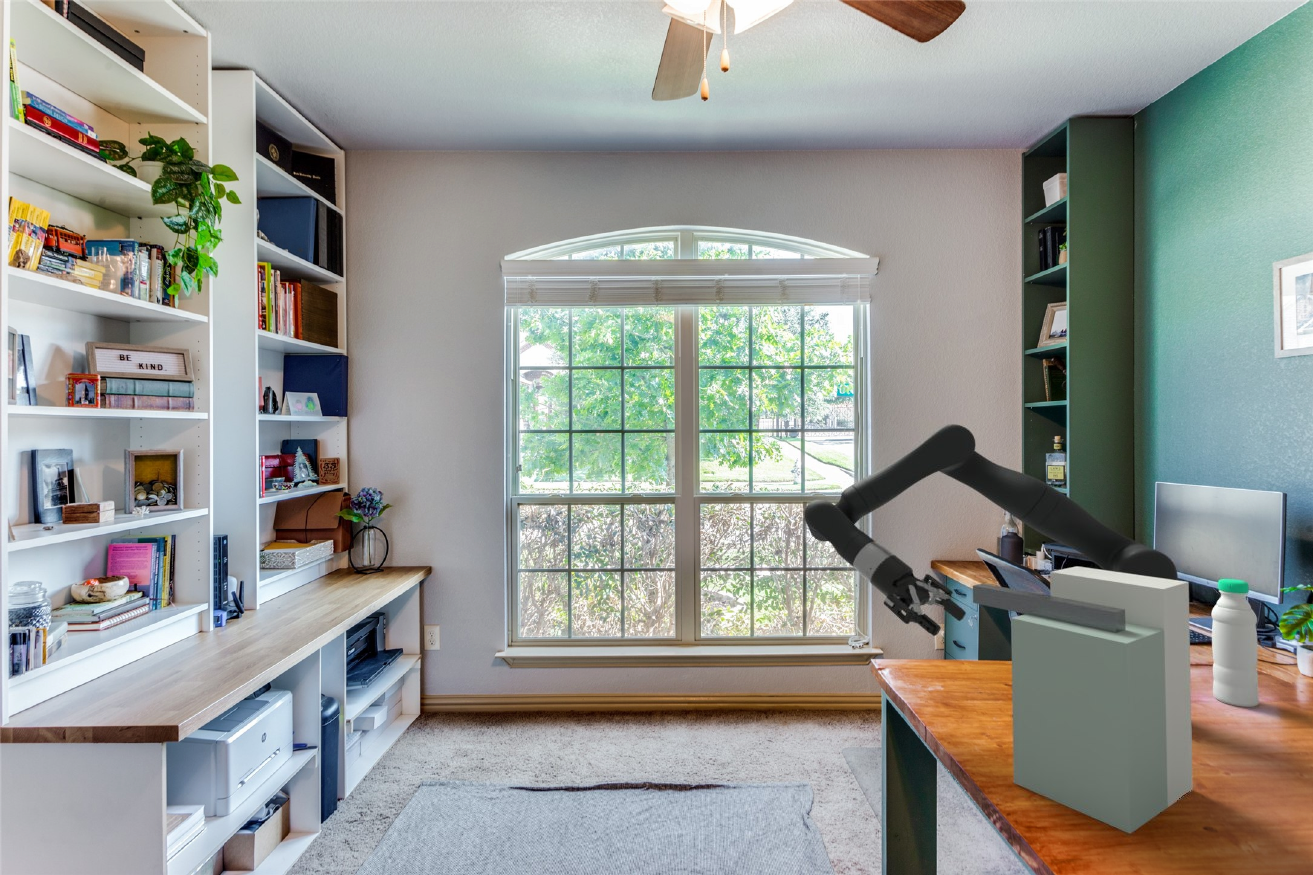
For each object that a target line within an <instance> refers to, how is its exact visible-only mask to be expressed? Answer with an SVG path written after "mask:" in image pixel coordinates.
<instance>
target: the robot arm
mask: <svg viewBox="0 0 1313 875" xmlns="http://www.w3.org/2000/svg"><path fill="white" fill-rule="evenodd" d="M937 472H939V473H942V474H944V475H945V476H948V477H949V478H952V479H954V480H955V481H958V482H960V483H962V484H964V485H966V486H967V487H969V488H970V489H973V490H974V491H976V492H978V493H979V494H981V495H982V496H983V497H984V498H986V499H988V500H989V501H990V502H992V503H993V504H995V506H996V505H997V506H998V507H999V508H1001V509H1003V510H1004V511H1005V512H1007V513H1008V514H1011V515H1012V516H1013V517H1014V518H1016V519H1017V520H1019V521H1020V522H1022V523H1024V524H1025V525H1027V526H1028V527H1030V528H1032V529H1033V530H1035V531H1036V532H1038V533H1040V534H1041V535H1043V536H1045V537H1047V538H1050V539H1051V540H1053V541H1055V542H1057V543H1059V544H1062V545H1063V546H1065V547H1069V548H1070V549H1073V550H1075V551H1077V552H1078V553H1080V554H1081V555H1083V556H1084V557H1086V558H1087V559H1089V560H1091V561H1092V562H1093V563H1094V564H1096V565H1097V566H1099V567H1100V568H1101V570H1107V571H1114V572H1121V573H1128V574H1135V575H1142V576H1149V577H1156V578H1163V579H1170V580H1178V581H1179V578H1178V576H1179V575H1178V571H1177V568H1176V565H1175V563H1174V562H1173V560H1172V559H1171V558H1170V557H1169V556H1168V555H1166V554H1165V553H1164V552H1161V551H1160V550H1157V549H1155V548H1153V547H1150V546H1149V545H1146V544H1145V545H1144V544H1143V543H1140V542H1138V541H1135V540H1133V539H1132V538H1129V537H1127V536H1125V535H1123V534H1121V533H1120V532H1118V531H1115V530H1114V529H1111V528H1110V527H1108V526H1106V525H1104V523H1102V522H1100V521H1099V520H1098V519H1096V518H1095V517H1094V516H1093V515H1092V514H1090V513H1089V512H1088V511H1087V510H1086V509H1085V508H1083V507H1082V506H1081V505H1079V504H1078V503H1077V502H1075V501H1074V500H1073V499H1072V498H1070V497H1069V496H1067V495H1065V494H1064V493H1062V492H1061V491H1059V490H1058V489H1056V488H1055V487H1053V486H1051V485H1049V484H1047V483H1046V482H1044V481H1042V480H1040V479H1038V478H1036V477H1034V476H1031V475H1029V474H1027V473H1026V474H1025V473H1023V472H1020V471H1017V470H1015V469H1011V468H1007V467H1004V466H1002V465H1000V464H997V463H995V462H993V461H991V460H989V459H988V458H986V457H985V456H983V455H982V454H981V453H979V452H977V451H976V439H975V436H974V434H973V433H972V432H971V430H969V429H968V428H966V427H965V426H964V425H960V424H952V423H950V424H945V425H942V426H940V427H938V428H936V429H935V430H934V431H933V432H932V433H931V434H930V435H929V436H928V437H927V438H926V439H924V440H923V441H922V442H921V443H920V444H919V445H917V446H916V447H915V448H913V449H912V450H910V451H908V452H907V453H906V454H904V455H902V456H901V457H900V458H898V459H896V460H895V461H893V462H891V463H890V464H887V465H886V466H884V467H882V468H881V469H879V470H876V471H874V472H872V473H871V474H869V475H867V476H866V477H863V478H862V479H860V480H858V481H857V482H855V483H853V484H851V485H850V486H848V487H847V488H845V489H844V490H843V491H842V492H841V495H840V499H839V500H838V501H837V502H836V503H835V504H833V503H832V502H831V501H829V500H826V499H815V500H812V501H810V502H809V503H808V504H807V505H806V507H805V510H804V513H803V515H804V521H805V523H806V526H807V528H808V530H809V532H810V534H811V536H812V537H813V538H814V539H815V540H817V541H819V542H826V543H827V542H829V543H830V544H831V545H832V547H833V549H834V550H835V551H836V553H837V554H838V555H839V556H840V557H841V558H842V559H843V560H844V561H845V562H847V563H848V564H849V565H850V566H851V567H853V568H854V570H856V571H857V572H858V573H859V575H860V576H861V577H863V578H864V579H865V580H866V581H867V582H869V583H870V584H871V585H872V586H873V587H875V588H876V589H877V590H878V591H879V592H880V593H882V594H883V595H884V596H885V599H884V600H883V605H884V606H885V607H886V608H888V610H890V611H891V612H892V613H893V614H894V616H896V617H897V618H898V619H899V620H900V621H902V622H903V623H904V624H905V625H909V624H910V623H913V624H918V625H919V626H920V627H921V628H922V629H924V630H925V631H926V632H927V633H928V634H931V636H933V637H934V636H937V635H938V634H939V633H940V631H941V630H942V629H941V628H942V627H941V625H939V623H937V622H936V621H934V619H932V618H931V617H929V615H928V614H926V613H923V611H922V608H921V606H925V605H928V606H933V605H935V606H938V607H940V608H943V610H944V611H946V612H947V613H948V614H949V615H950V616H952V618H954V619H956V620H957V621H959V622H961V621H962V620H963V619H964V618H965V617H966V615H967V614H966V613H967V612H966V611H965V609H963V608H962V607H961V606H959V605H958V604H957V603H956V602H955V601H953V600H952V599H951V597H952V595H953V592H954V591H953V590H951V589H950V588H949V587H947V586H946V585H944V584H943V583H941V582H940V581H939V580H937V579H936V578H935V577H934V576H932V575H931V574H928V573H926V574H925V575H924V577H923V578H922V579H921V578H918V577H916V576H915V574H914V571H913V568H912V567H911V566H910V565H908V564H907V563H906V562H904V561H903V560H902V559H901V558H899V557H898V556H897V555H896V554H894V553H893V552H892V551H890V550H889V549H888V548H886V547H885V546H883V545H881V543H878V542H877V541H876V540H874V539H873V538H872V537H870V536H869V535H868V534H866V533H865V532H864V531H862V530H861V529H860V528H859V527H858V526H856V523H857V522H858V521H860V520H861V519H862V518H863V517H865V516H867V515H869V514H871V513H872V512H874V511H875V510H877V509H879V508H881V507H882V506H884V505H885V504H887V503H889V502H891V501H892V500H893V499H896V497H898V496H900V495H901V494H903V492H905V491H906V490H908V489H910V487H912V486H914V485H915V484H917V483H918V482H921V481H922V480H924V479H925V478H927V477H930V476H931V475H933V474H936V473H937ZM941 591H942V592H941ZM930 593H931V594H930ZM937 598H938V599H937ZM902 611H903V612H904V613H905V614H904V613H903V612H902Z"/></svg>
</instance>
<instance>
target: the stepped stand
mask: <svg viewBox="0 0 1313 875" xmlns="http://www.w3.org/2000/svg"><path fill="white" fill-rule="evenodd" d="M1049 574H1050V575H1049V576H1050V577H1049V579H1050V583H1049V585H1050V589H1049V590H1050V592H1049V593H1050V596H1054V597H1059V598H1065V599H1070V600H1076V601H1081V602H1087V603H1092V604H1098V605H1103V606H1109V607H1114V608H1120V609H1125V629H1126V630H1124V631H1121V632H1118V633H1113V632H1108V631H1104V630H1099V629H1094V628H1090V627H1085V626H1080V625H1075V624H1071V623H1066V622H1061V621H1057V620H1052V619H1047V618H1042V617H1038V616H1033V615H1028V614H1024V613H1023V614H1022V615H1021V614H1020V615H1018V616H1014V617H1011V618H1010V621H1011V622H1010V624H1011V626H1010V627H1011V629H1010V631H1011V633H1010V634H1011V636H1010V637H1011V689H1012V690H1011V691H1012V692H1011V694H1012V698H1011V699H1012V703H1011V704H1012V753H1013V755H1012V756H1013V757H1012V758H1013V765H1012V766H1013V784H1015V785H1018V786H1020V787H1021V788H1022V787H1023V788H1025V789H1027V790H1029V791H1031V792H1033V793H1036V794H1038V795H1041V796H1042V797H1045V798H1047V799H1049V800H1052V801H1054V802H1056V803H1059V804H1061V805H1062V806H1066V807H1068V808H1070V809H1072V810H1075V811H1078V812H1079V813H1082V814H1083V815H1086V816H1088V817H1091V818H1093V819H1095V820H1098V821H1100V822H1102V823H1104V824H1107V825H1109V826H1111V827H1113V828H1117V829H1118V830H1120V831H1123V832H1125V833H1127V834H1130V835H1131V834H1132V833H1134V832H1135V831H1136V830H1138V829H1139V828H1141V827H1142V826H1143V825H1145V824H1146V823H1148V822H1150V821H1151V820H1152V819H1154V818H1156V817H1157V816H1158V815H1159V814H1161V813H1162V812H1164V811H1165V810H1166V809H1168V808H1169V807H1171V806H1172V805H1174V804H1175V803H1177V800H1178V801H1179V800H1180V799H1182V798H1183V797H1184V796H1183V795H1184V794H1186V793H1187V792H1189V791H1190V792H1192V791H1193V790H1192V789H1194V788H1193V787H1194V786H1193V782H1194V781H1193V744H1192V743H1193V742H1192V738H1193V737H1192V736H1193V734H1192V730H1193V729H1192V689H1191V688H1192V687H1191V644H1190V643H1191V642H1190V641H1191V640H1190V638H1191V636H1190V632H1191V631H1190V604H1189V603H1190V590H1189V588H1190V587H1189V583H1190V582H1189V581H1185V580H1184V581H1183V580H1179V579H1178V580H1170V579H1163V578H1156V577H1149V576H1142V575H1135V574H1128V573H1121V572H1114V571H1107V570H1104V569H1099V568H1092V567H1084V566H1077V565H1076V566H1073V567H1067V568H1063V569H1058V570H1054V571H1049ZM1191 790H1192V791H1191ZM1190 792H1189V793H1190ZM1186 795H1187V794H1186ZM1182 796H1183V797H1182ZM1181 797H1182V798H1181ZM1179 798H1180V799H1179ZM1160 812H1161V813H1160Z"/></svg>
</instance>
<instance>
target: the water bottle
mask: <svg viewBox="0 0 1313 875" xmlns="http://www.w3.org/2000/svg"><path fill="white" fill-rule="evenodd" d="M1217 589H1218V592H1219V593H1220V597H1219V599H1218V600H1217V601H1216V604H1215V605H1214V607H1213V608H1212V610H1211V618H1212V624H1211V626H1212V627H1211V628H1212V629H1211V646H1212V650H1211V651H1212V658H1213V665H1212V677H1213V684H1212V695H1213V696H1214V698H1215V699H1217V700H1218V701H1219V702H1222V703H1224V704H1227V705H1231V706H1234V707H1235V706H1237V707H1243V708H1252V707H1253V708H1254V707H1256V706H1258V705H1259V704H1260V699H1259V698H1260V697H1259V696H1260V695H1259V690H1258V684H1259V674H1258V670H1257V668H1258V659H1259V658H1258V654H1259V653H1258V634H1257V626H1256V625H1257V622H1258V617H1257V615H1256V613H1255V611H1254V610H1253V609H1252V606H1251V604H1250V602H1248V600H1247V596H1248V595H1249V591H1250V585H1249V583H1248V582H1247V581H1245V580H1241V579H1235V578H1234V579H1233V578H1221V579H1219V580H1218V581H1217Z"/></svg>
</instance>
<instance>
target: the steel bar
mask: <svg viewBox="0 0 1313 875" xmlns="http://www.w3.org/2000/svg"><path fill="white" fill-rule="evenodd" d="M972 603H973V604H977V605H980V606H981V605H982V606H986V607H990V608H991V607H992V608H996V609H999V610H1000V609H1001V610H1006V611H1010V612H1015V613H1020V614H1023V615H1024V614H1028V615H1033V616H1038V617H1042V618H1047V619H1052V620H1057V621H1061V622H1066V623H1071V624H1075V625H1080V626H1085V627H1090V628H1094V629H1099V630H1104V631H1108V632H1113V633H1118V632H1121V631H1124V630H1126V629H1125V609H1120V608H1114V607H1109V606H1103V605H1098V604H1092V603H1087V602H1081V601H1076V600H1070V599H1065V598H1059V597H1054V596H1051V595H1048V594H1042V593H1037V592H1032V591H1027V590H1020V589H1015V588H1010V587H1003V586H1000V585H999V586H998V585H992V584H988V583H978V584H974V585H972Z"/></svg>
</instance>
